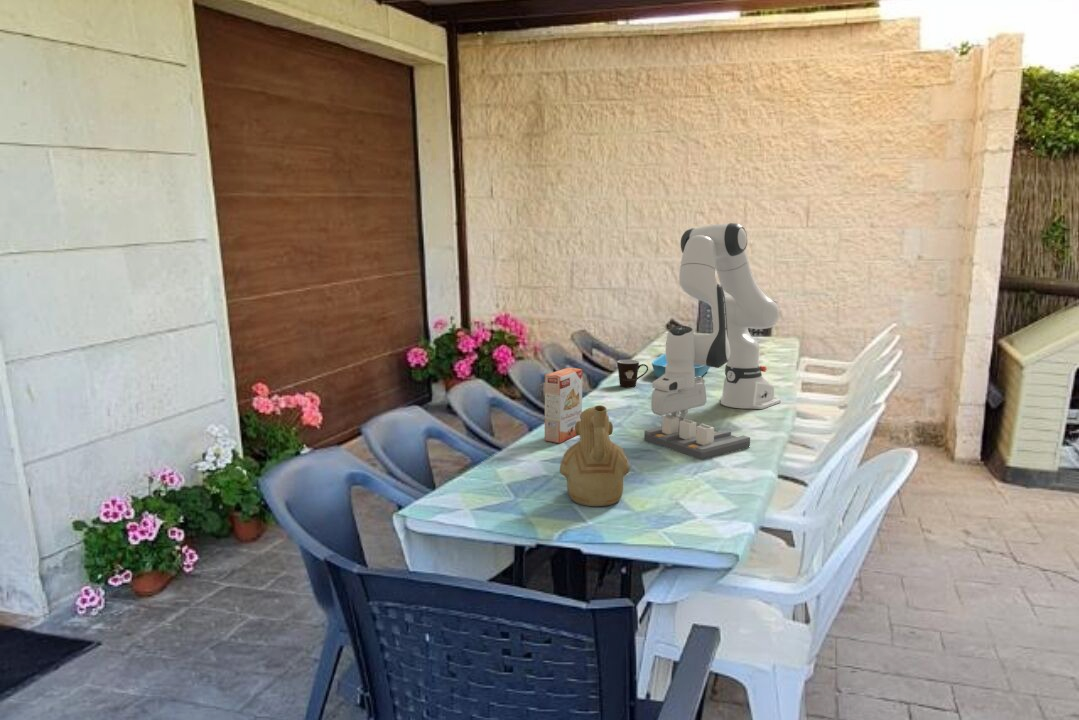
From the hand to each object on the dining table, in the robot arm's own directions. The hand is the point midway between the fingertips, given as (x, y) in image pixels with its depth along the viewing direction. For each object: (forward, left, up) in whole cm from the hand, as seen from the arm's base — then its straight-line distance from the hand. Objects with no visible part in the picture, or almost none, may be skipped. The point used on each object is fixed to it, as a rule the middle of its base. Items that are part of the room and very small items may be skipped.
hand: (679, 424), depth 241 cm
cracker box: (+28, -22, -5) cm, 36 cm away
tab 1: (+4, 0, -3) cm, 5 cm away
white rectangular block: (+3, +7, -3) cm, 8 cm away
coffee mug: (-36, -64, -5) cm, 74 cm away
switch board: (0, +7, -5) cm, 8 cm away
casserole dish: (-69, -69, -5) cm, 98 cm away
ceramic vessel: (+53, +25, -5) cm, 58 cm away
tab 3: (+3, +14, -3) cm, 15 cm away
